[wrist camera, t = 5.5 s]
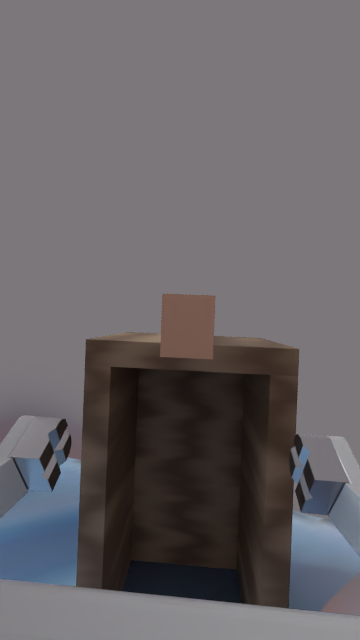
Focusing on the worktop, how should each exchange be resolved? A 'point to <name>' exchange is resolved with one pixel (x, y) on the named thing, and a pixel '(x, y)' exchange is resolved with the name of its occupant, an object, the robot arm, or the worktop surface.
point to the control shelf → (188, 461)
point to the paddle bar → (187, 326)
